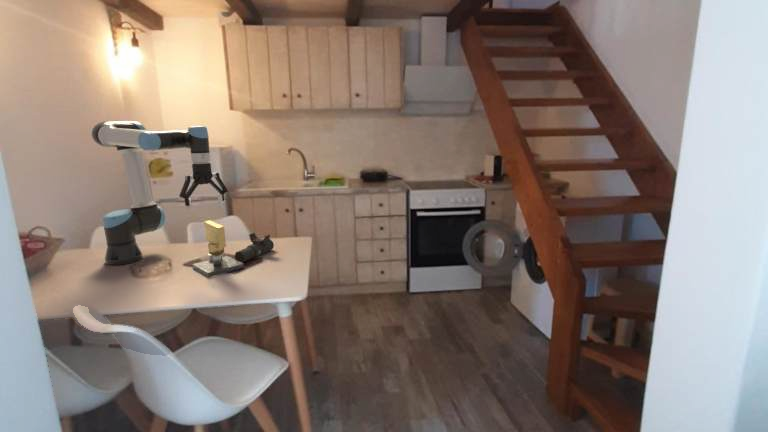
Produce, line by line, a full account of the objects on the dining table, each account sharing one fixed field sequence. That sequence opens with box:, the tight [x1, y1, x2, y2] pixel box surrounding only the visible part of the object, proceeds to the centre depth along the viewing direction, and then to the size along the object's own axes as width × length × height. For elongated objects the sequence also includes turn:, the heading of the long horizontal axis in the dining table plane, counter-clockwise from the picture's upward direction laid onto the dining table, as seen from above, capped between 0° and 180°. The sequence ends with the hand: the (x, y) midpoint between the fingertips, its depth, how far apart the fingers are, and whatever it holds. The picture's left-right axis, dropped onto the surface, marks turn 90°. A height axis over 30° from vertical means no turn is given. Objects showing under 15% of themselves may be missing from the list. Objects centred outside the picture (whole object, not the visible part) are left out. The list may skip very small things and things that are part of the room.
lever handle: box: [203, 220, 227, 255], centre depth 183 cm, size 6×16×13 cm, turn 42°
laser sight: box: [234, 232, 275, 264], centre depth 201 cm, size 10×22×10 cm, turn 158°
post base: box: [192, 253, 245, 278], centre depth 185 cm, size 16×16×7 cm
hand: (206, 210), depth 184 cm, fingers open, 13 cm apart
